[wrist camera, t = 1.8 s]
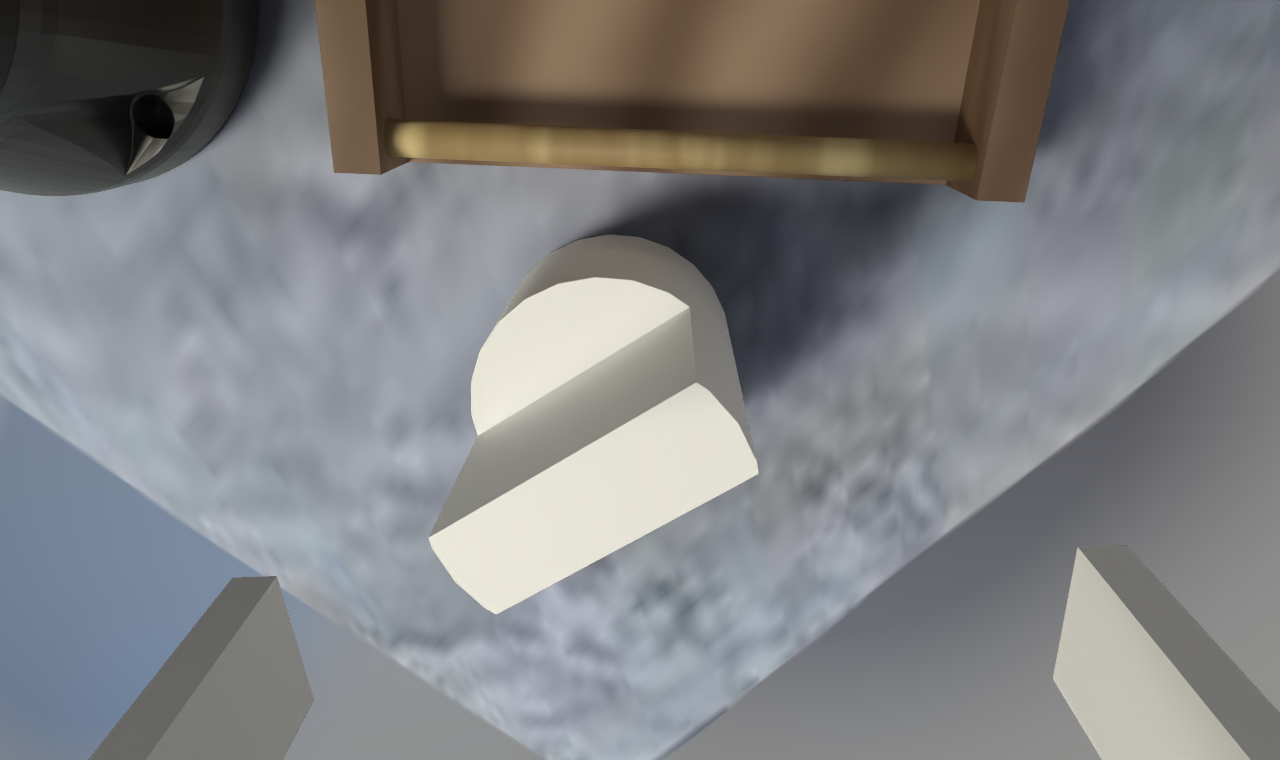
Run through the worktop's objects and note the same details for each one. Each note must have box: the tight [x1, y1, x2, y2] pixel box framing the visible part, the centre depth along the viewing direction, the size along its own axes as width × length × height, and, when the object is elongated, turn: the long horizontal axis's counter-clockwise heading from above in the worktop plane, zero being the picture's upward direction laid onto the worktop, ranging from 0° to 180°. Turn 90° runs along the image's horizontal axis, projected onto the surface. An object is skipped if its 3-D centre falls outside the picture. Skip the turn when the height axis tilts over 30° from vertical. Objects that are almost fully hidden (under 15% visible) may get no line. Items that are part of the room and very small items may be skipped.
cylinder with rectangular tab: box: [429, 234, 759, 614], centre depth 26 cm, size 9×9×12 cm
